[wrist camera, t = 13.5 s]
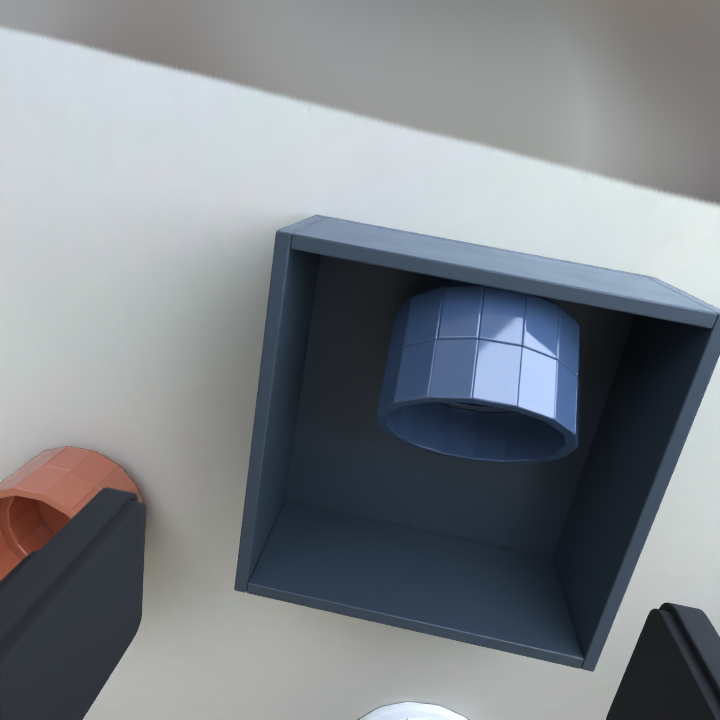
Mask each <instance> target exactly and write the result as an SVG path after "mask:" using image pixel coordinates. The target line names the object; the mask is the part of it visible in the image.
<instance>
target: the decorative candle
mask: <svg viewBox="0 0 720 720" xmlns="http://www.w3.org/2000/svg"><path fill="white" fill-rule="evenodd" d="M360 720H468V719H467V718H465V717H463V716H461V715H459V714H456V713H454V712H452V711H450V710H447V709H445V708H443V707H441V706H438V705H430V704H422V703H414V702H404V703H399V704H393V705H388V706H382V707H379V708H378V709H376V710H374V711H373V712H371V713H369V714H368V715H366V716H365V717H363V718H361V719H360Z"/></svg>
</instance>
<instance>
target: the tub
mask: <svg viewBox="0 0 720 720" xmlns="http://www.w3.org/2000/svg"><path fill="white" fill-rule="evenodd" d="M455 281H461V282H467V283H472V284H477V285H482V286H488V287H493V288H498V289H504V290H509V291H514V292H519V293H525V294H530V295H535V296H541V297H546V298H550V299H551V300H553V301H554V302H555V303H556V304H558V305H559V306H560V307H562V308H563V309H564V310H565V311H566V312H567V313H568V314H569V315H570V316H571V317H572V318H573V319H575V320H576V321H577V322H578V324H579V326H580V333H581V341H582V346H581V375H580V407H579V436H578V447H577V448H576V449H575V450H573V451H572V452H571V453H569V454H568V455H567V456H565V457H563V458H558V459H554V460H549V461H545V462H541V463H524V464H498V463H485V462H474V461H468V460H462V459H457V458H451V457H446V456H441V455H437V454H434V453H431V452H427V451H424V450H421V449H417V448H414V447H412V446H409V445H407V444H405V443H403V442H401V441H399V440H397V439H395V438H393V437H391V436H389V435H388V434H387V433H386V432H385V431H384V430H383V429H382V428H381V427H380V426H379V425H378V424H377V423H376V419H377V410H378V405H379V399H380V394H381V388H382V383H383V377H384V372H385V366H386V361H387V356H388V350H389V345H390V339H391V334H392V328H393V323H394V317H395V313H396V311H397V310H398V309H399V308H400V307H401V306H402V305H403V304H405V303H406V302H407V301H408V300H409V299H410V298H411V297H413V296H415V295H418V294H421V293H422V292H424V291H426V290H428V289H430V288H432V287H435V286H437V285H441V284H445V283H449V282H455ZM719 356H720V309H718V308H716V307H714V306H712V305H710V304H708V303H706V302H704V301H702V300H700V299H698V298H696V297H694V296H692V295H690V294H688V293H686V292H684V291H682V290H679V289H677V288H675V287H673V286H671V285H669V284H667V283H665V282H663V281H661V280H659V279H657V278H655V277H650V276H645V275H639V274H634V273H628V272H623V271H618V270H612V269H607V268H601V267H596V266H591V265H585V264H580V263H574V262H569V261H564V260H558V259H553V258H547V257H542V256H537V255H531V254H526V253H520V252H515V251H510V250H504V249H499V248H493V247H488V246H483V245H477V244H472V243H466V242H461V241H456V240H450V239H445V238H439V237H434V236H429V235H423V234H418V233H412V232H407V231H402V230H396V229H391V228H385V227H380V226H375V225H369V224H364V223H358V222H353V221H348V220H342V219H337V218H331V217H326V216H321V215H315V216H313V217H310V218H308V219H305V220H303V221H300V222H298V223H295V224H293V225H290V226H288V227H285V228H283V229H280V230H278V231H277V232H276V238H275V246H274V255H273V263H272V272H271V280H270V289H269V298H268V306H267V315H266V323H265V332H264V340H263V349H262V357H261V366H260V374H259V383H258V392H257V400H256V409H255V417H254V426H253V434H252V443H251V451H250V460H249V468H248V477H247V485H246V494H245V503H244V511H243V520H242V528H241V537H240V545H239V554H238V562H237V571H236V579H235V588H234V589H235V590H236V591H241V592H247V593H249V594H254V595H258V596H263V597H267V598H271V599H276V600H280V601H285V602H289V603H293V604H298V605H302V606H307V607H311V608H315V609H320V610H324V611H329V612H333V613H338V614H342V615H346V616H351V617H355V618H360V619H364V620H368V621H373V622H377V623H382V624H386V625H390V626H395V627H399V628H404V629H408V630H412V631H417V632H421V633H426V634H430V635H434V636H439V637H443V638H448V639H452V640H456V641H461V642H465V643H470V644H474V645H478V646H483V647H487V648H492V649H496V650H500V651H505V652H509V653H514V654H518V655H522V656H527V657H531V658H536V659H540V660H544V661H549V662H553V663H558V664H562V665H566V666H571V667H575V668H581V669H584V670H588V671H594V669H595V667H596V664H597V662H598V659H599V657H600V654H601V652H602V649H603V647H604V644H605V642H606V639H607V637H608V634H609V632H610V629H611V627H612V624H613V621H614V619H615V616H616V614H617V611H618V609H619V606H620V604H621V601H622V599H623V596H624V594H625V591H626V589H627V586H628V584H629V581H630V579H631V576H632V574H633V571H634V569H635V566H636V564H637V561H638V559H639V556H640V554H641V551H642V549H643V546H644V544H645V541H646V539H647V536H648V534H649V531H650V529H651V526H652V524H653V521H654V519H655V516H656V514H657V511H658V509H659V506H660V504H661V501H662V499H663V496H664V494H665V491H666V489H667V486H668V484H669V481H670V479H671V476H672V474H673V471H674V469H675V466H676V464H677V461H678V459H679V456H680V454H681V451H682V448H683V446H684V443H685V441H686V438H687V436H688V433H689V431H690V428H691V426H692V423H693V421H694V418H695V416H696V413H697V411H698V408H699V406H700V403H701V401H702V398H703V396H704V393H705V391H706V388H707V386H708V383H709V381H710V378H711V376H712V373H713V371H714V368H715V366H716V363H717V361H718V358H719Z"/></svg>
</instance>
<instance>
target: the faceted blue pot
mask: <svg viewBox="0 0 720 720" xmlns="http://www.w3.org/2000/svg"><path fill="white" fill-rule="evenodd" d="M581 346H582V341H581V333H580V326H579V324H578V322H577V321H576V320H575V319H573V318H572V317H571V316H570V315H569V314H568V313H567V312H566V311H565V310H564V309H563V308H562V307H560V306H559V305H558V304H556V303H555V302H554V301H553V300H551V299H550V298H546V297H541V296H535V295H530V294H525V293H519V292H514V291H509V290H504V289H498V288H493V287H488V286H482V285H477V284H472V283H467V282H461V281H455V282H449V283H445V284H441V285H437V286H435V287H432V288H430V289H428V290H426V291H424V292H422V293H421V294H418V295H415V296H413V297H411V298H410V299H409V300H408V301H407V302H406V303H405V304H403V305H402V306H401V307H400V308H399V309H398V310H397V311H396V313H395V317H394V323H393V328H392V334H391V339H390V345H389V350H388V356H387V361H386V366H385V372H384V377H383V383H382V388H381V394H380V399H379V405H378V410H377V419H376V423H377V424H378V425H379V426H380V427H381V428H382V429H383V430H384V431H385V432H386V433H387V434H388V435H389V436H391V437H393V438H395V439H397V440H399V441H401V442H403V443H405V444H407V445H409V446H412V447H414V448H417V449H421V450H424V451H427V452H431V453H434V454H437V455H441V456H446V457H451V458H457V459H462V460H468V461H474V462H485V463H498V464H524V463H541V462H545V461H549V460H554V459H558V458H563V457H565V456H567V455H568V454H569V453H571V452H572V451H573V450H575V449H576V448H577V447H578V436H579V407H580V375H581Z"/></svg>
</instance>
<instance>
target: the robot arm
mask: <svg viewBox="0 0 720 720" xmlns="http://www.w3.org/2000/svg"><path fill="white" fill-rule="evenodd" d="M145 520H146V506H145V504H144V503H142V502H138V496H137V494H136V493H133V492H128V491H123V490H119V489H114V488H109V487H106V488H103V489H102V490H100V491H99V492H98V493H97V494H96V495H95V496H94V497H93V498H92V499H91V500H90V501H89V502H88V503H87V504H86V505H85V506H84V507H83V508H82V509H81V510H80V511H79V512H78V513H77V514H76V515H75V516H74V517H73V518H72V519H71V520H70V521H69V522H68V523H67V524H66V525H65V526H64V527H63V528H62V529H61V530H60V531H59V532H58V533H57V534H56V535H55V536H54V537H53V538H51V539H50V540H49V541H48V542H47V543H46V544H45V545H44V546H43V547H42V548H41V549H39V550H36V551H33V552H31V553H30V554H29V555H27V556H26V557H25V558H24V559H23V560H22V561H21V562H20V563H19V564H18V565H17V566H15V567H14V568H13V569H12V570H11V571H10V572H9V573H8V574H7V575H6V576H5V577H4V578H3V579H2V580H1V581H0V720H83V718H84V716H85V715H86V713H87V712H88V710H89V709H90V707H91V705H92V704H93V702H94V701H95V699H96V697H97V696H98V694H99V693H100V691H101V689H102V688H103V686H104V685H105V683H106V681H107V680H108V678H109V677H110V675H111V673H112V672H113V670H114V669H115V667H116V666H117V664H118V662H119V661H120V659H121V658H122V656H123V654H124V653H125V651H126V650H127V648H128V646H129V645H130V643H131V642H132V640H133V638H134V637H135V635H136V633H137V631H138V628H139V625H140V622H141V616H142V596H143V571H144V546H145ZM606 720H720V637H719V635H718V634H717V632H716V630H715V629H714V627H713V625H712V624H711V622H710V621H709V619H708V617H707V616H706V615H705V613H704V612H703V611H701V610H700V609H696V608H691V607H687V606H682V605H677V604H672V603H664V604H663V605H661V607H660V608H659V609H653V610H651V611H650V613H649V615H648V617H647V620H646V622H645V624H644V627H643V629H642V632H641V634H640V637H639V639H638V642H637V644H636V646H635V649H634V651H633V654H632V656H631V659H630V661H629V664H628V666H627V668H626V671H625V673H624V676H623V678H622V681H621V683H620V686H619V688H618V690H617V693H616V695H615V698H614V700H613V703H612V705H611V707H610V710H609V712H608V715H607V718H606Z"/></svg>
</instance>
